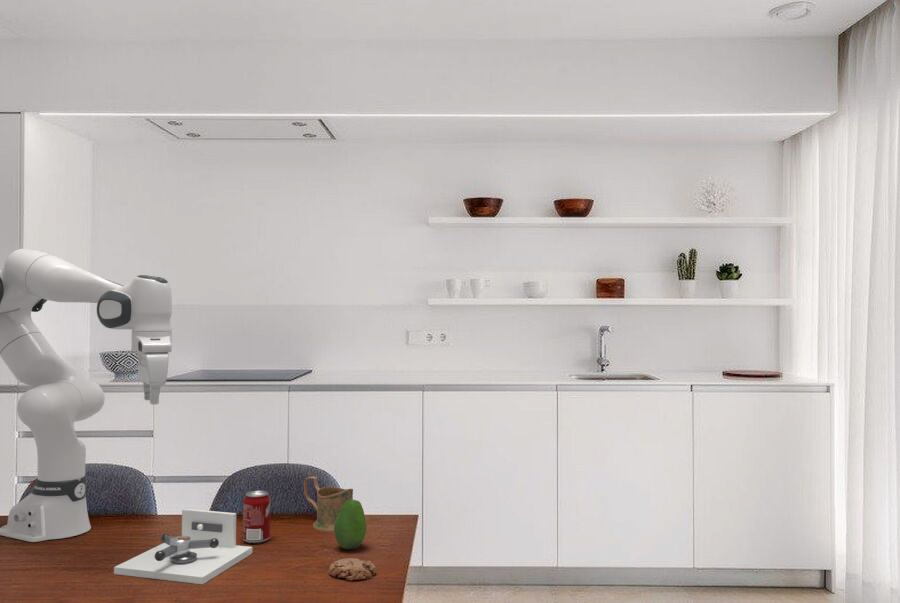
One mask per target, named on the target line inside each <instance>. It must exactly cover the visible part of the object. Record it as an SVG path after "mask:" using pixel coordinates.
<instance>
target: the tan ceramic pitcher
mask: <svg viewBox="0 0 900 603" xmlns="http://www.w3.org/2000/svg"><path fill="white" fill-rule="evenodd" d="M318 478H319V477H317V476H307V477H306V478H304V481H303V492H304V496H305V498H306V500H307V501H308V502H309V503H310V504H312V506H313V507H314V508H315V510H316V520H315V521H314V522H313V524H312V525H313V526H312V527H313V529H315V530H316V531H319V532H325V533H326V532H327V533H335V532H334V525H335V521H336V518H337V516H338V514H339V512H340V510H341V508H342V506H343V504H344V503H345V502H347V501H349V500H354V499H353V498H354V497H353V494H354V488H347V489H346V488H341V487H335V486H325V487H321V488H320V487H319V481H318V480H319V479H318ZM309 479H311V480H314V481H313V483H314V487H315V490H316V494H317V495H316V496H317V497H316V498H317V501H315V500H313V499H312V498H311V497H310V495H309V491H308V480H309Z"/></svg>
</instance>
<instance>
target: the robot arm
mask: <svg viewBox="0 0 900 603" xmlns="http://www.w3.org/2000/svg"><path fill="white" fill-rule="evenodd" d="M171 289H172V288H171V286H170V283H169V281H168V280H167V279H166V278H164V277H161V276H155V275H146V274H144V275H143V274H139V275H136V276H135V277H134V278H133V279H132V280H131V281H130V282H129V283H127V284H125V285H123V284H121V283H118V282H115V281H112V280H109V279H106V278H103V277H101V276H99V275H97V274H95V273H92V272H91V271H88V270H86V269H84V268H82V267H79V266H78V265H75V264H73V263H71V262H69V261H67V260H65V259H63V258H61V257H59V256H56V255H54V254H50V253H49V252H44V251H41V250H36V249H32V248H19V249H16V250H14V251H12V252H11V253H10V254H8V256H7V257H6V259H5V262H4V266H3V268H2V269H0V358H1V359H2V360H3V362H4V364H5V365H6V366H7V367H8V369H9V370H10V372H11V373H12V374H13V377H14V378H15V380H16V379H17V381H18V382H20V383H22V384H23V385H24V384H25V385H27V386H29V387H31V388H30V389H29V390H27V391H25V392H24V393H23V394H21V396H20V397H19V399H18V401H17V405H16V406H17V407H16V411H17V415H18V417H19V419H20V421H21V422H22V423H23V424H24V425H25V426H27V427H28V429H29V430H30V432H31V433H32V436H33V438H34V442H35V445H36V452H37V478H36V479H34V480H31V481H28V485H27V486H28V487H32V488H31V491H30V493H29V494H28V495H27V496H25V497H24V498H23V499H21V500H20V501H19V502H17V503H16V504H15V505H13V506H12V507H11V508H10V510H9V513H8V516H7V524H5V525H3V526H1V527H0V536H4V537H6V538H12V539H16V540H20V541H25V542H30V543H36V542H38V543H39V542H43V541H48V540H58V539H65V538H66V539H67V538H72V537H74V536H79V535H83V534H84V533H87V532H89V531H90V530H91V528H92V526H91V523H90V518H89V514H88V505H87V499H86V498H87V497H86V493H87V488H88V476H87V474H86V456H87V455H86V454H87V452H86V449H87V448H86V445H85V444H84V442H83V441H82V440H80V439H79V438H78V436H77V433H76V431H75V425H74V424H75V423H76V422H80V421H83V420H87V419H88V418H91V417H93V416H94V415H96V414H97V413H98V412H100V411H101V409H102V408H103V407H104V404H105V393H104V390H103V389H102V387H101V385H100V384H98V383H97V382H94V381H91V380H90V379H88V378H86V377H84V376H83V375H81V374H80V373H79V372H78V371H76V370H75V369H74V368H73V367H72V366H70V365H69V364H68V363H67V362H65V360H64V359H63V358H61V357H60V356H59V354H57V352H56V351H55V349H54V348H53V347H52V345H51V344H50V343H49V341H48V340H47V339H46V337H45V336H44V335H43V334H42V332H41V331H40V330H39V328H38V327H37V325H36V324H35V322H34V321H33V318H32V312H33V313H38V312H40V311H41V310H42V309H43V306H44V304H46V302H48V301H51V302H56V303H89V304H96V316H97V318H98V321H99V322H100V324H101V325H102V326H103V327H105V328H107V329H111V330H131V351H132V352H137V353H136V355H137V356H136V358H137V359H138V363H137V364H138V365H137V368H138V369H137V377H138V380H139V381H141V382H142V387H143V388H142V389H143V399H144V400H145V401H149V404H151V405H159V403H160V393H161V386H165V385H166V384H167V379H168V371H169V370H168V369H169V361H170V360H169V357H170V354H169V353H172V350H173V349H172V347H173V345H172V342H173V340H172V338H173V336H172V334H173V333H172V330H173V329H172V325H171V317H172V314H173V300H172V299H173V297H172V290H171Z"/></svg>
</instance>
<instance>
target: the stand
mask: <svg viewBox="0 0 900 603" xmlns="http://www.w3.org/2000/svg"><path fill="white" fill-rule="evenodd" d="M181 536H188V537H190V538H191V540H190V541H195V540H210V539H213V538H216V539H218V541H219V545H218V546H217V547H216V548H211V547H210V548H196V549H190V552H195V553H196V554H197V559H196V560H195V561H192V562H189V563H173V562H171V561H170V556H168V557H166V558H164V559H163V560H162V561H157V560H156V559H155V553H156V552H157V551H160V550H163V549H165V548H167V547H169V546H170V545H168V544H166V543H163V542H162V543H161V544H158V545H157V546H155V547H152V548H151V549H148V550H146V551H145V552H142V553H140V554H138V555H136V556H134V557H132V558H129V559H128V560H126V561H124V562H122V563H119V564H117V565H116V566H114V567H113V575H119V576H120V575H121V576H129V577H137V578H144V579H146V578H147V579H153V580H161V581H162V580H163V581H171V582H179V583H188V584H196V585H204V584H205V583H207V582H209V581H211V580H212V579H213V578H216V577H217V576H218V575H220V574H221V573H223V572H225V571H227V570H228V569H229V568H231V567H233V566H235V565H236V564H237V563H239V562H241V561H243V559H244V560H245V558H247V557H249V556H250V555H252V554H253V550H254V549H253V546H246V545H245V546H244V545H238V544H237V512H226V511H215V510H202V509H193V508H183V509H182V510H181Z"/></svg>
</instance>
